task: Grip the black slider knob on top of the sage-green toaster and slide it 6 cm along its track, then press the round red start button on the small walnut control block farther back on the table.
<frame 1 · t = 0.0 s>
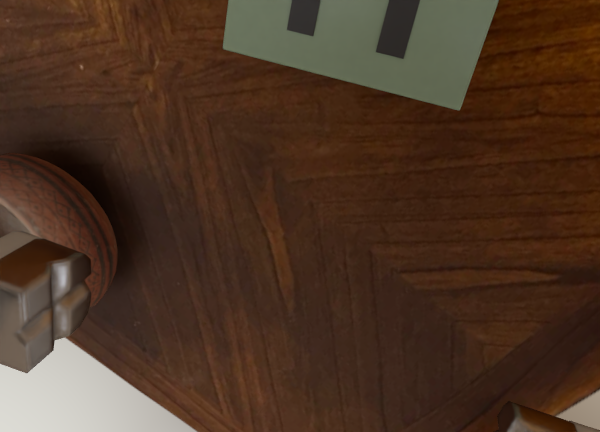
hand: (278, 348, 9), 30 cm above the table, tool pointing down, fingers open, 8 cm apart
bowl: (75, 216, 49), on the table
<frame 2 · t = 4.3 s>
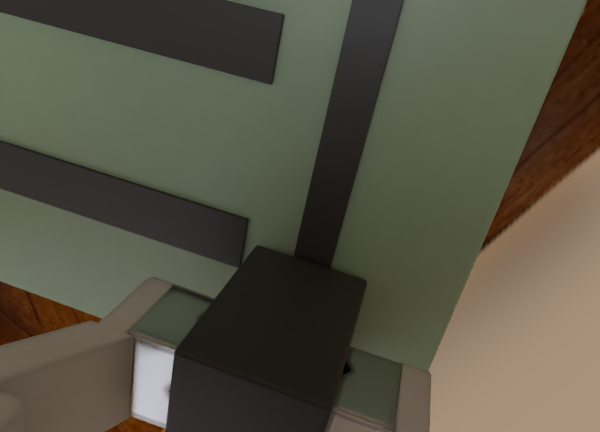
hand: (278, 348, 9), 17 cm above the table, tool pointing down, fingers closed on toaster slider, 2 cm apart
toaster: (297, 48, 23), on the table
toaster slider: (274, 360, 9), point 17 cm above the table, slide at 0.0 cm, touching gripper
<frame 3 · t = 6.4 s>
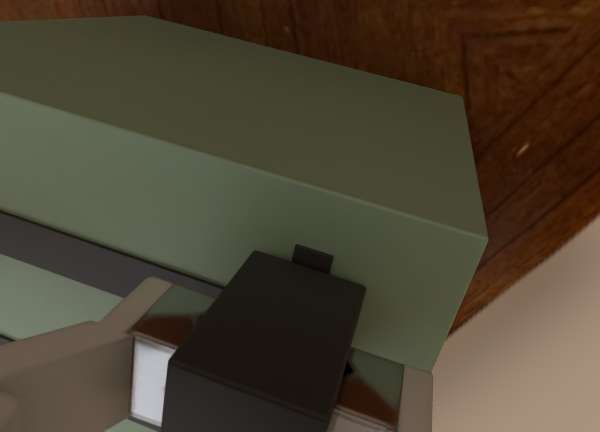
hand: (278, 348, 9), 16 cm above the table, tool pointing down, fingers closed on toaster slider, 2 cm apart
toaster: (275, 160, 26), on the table
toaster slider: (271, 369, 9), point 17 cm above the table, slide at 5.7 cm, touching gripper
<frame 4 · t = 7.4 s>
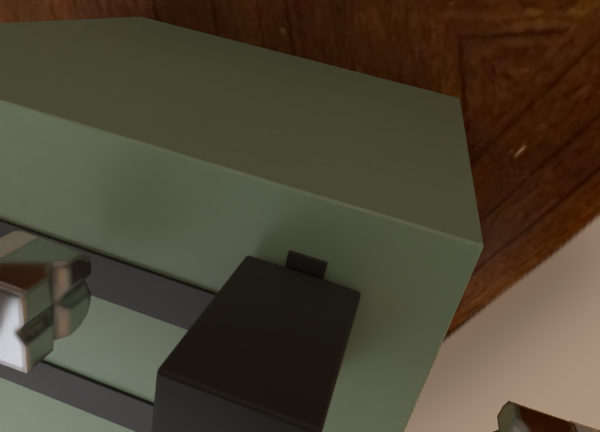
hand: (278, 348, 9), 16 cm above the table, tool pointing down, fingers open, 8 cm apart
toaster: (272, 162, 25), on the table
toaster slider: (264, 376, 9), point 17 cm above the table, slide at 5.7 cm
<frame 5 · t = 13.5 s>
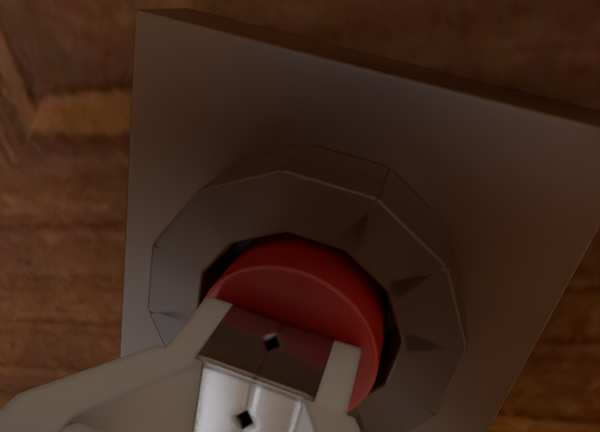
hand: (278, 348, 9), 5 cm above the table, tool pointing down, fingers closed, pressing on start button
start button: (295, 324, 10), point 4 cm above the table, slide at -0.6 cm, touching gripper
control block: (333, 242, 13), on the table
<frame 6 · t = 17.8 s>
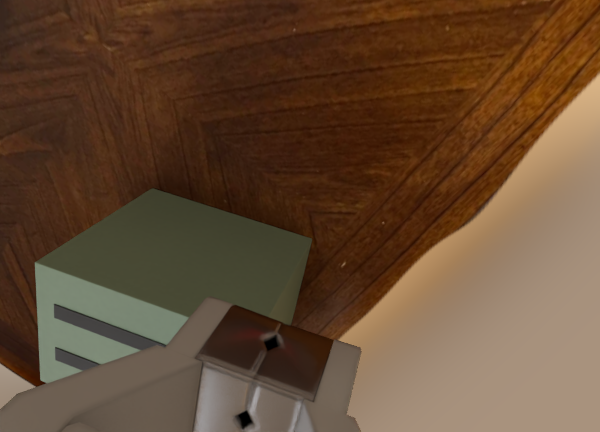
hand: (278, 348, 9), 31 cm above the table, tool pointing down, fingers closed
toaster: (222, 262, 47), on the table
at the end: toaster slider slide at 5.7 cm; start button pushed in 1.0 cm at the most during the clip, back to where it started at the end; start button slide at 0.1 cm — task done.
